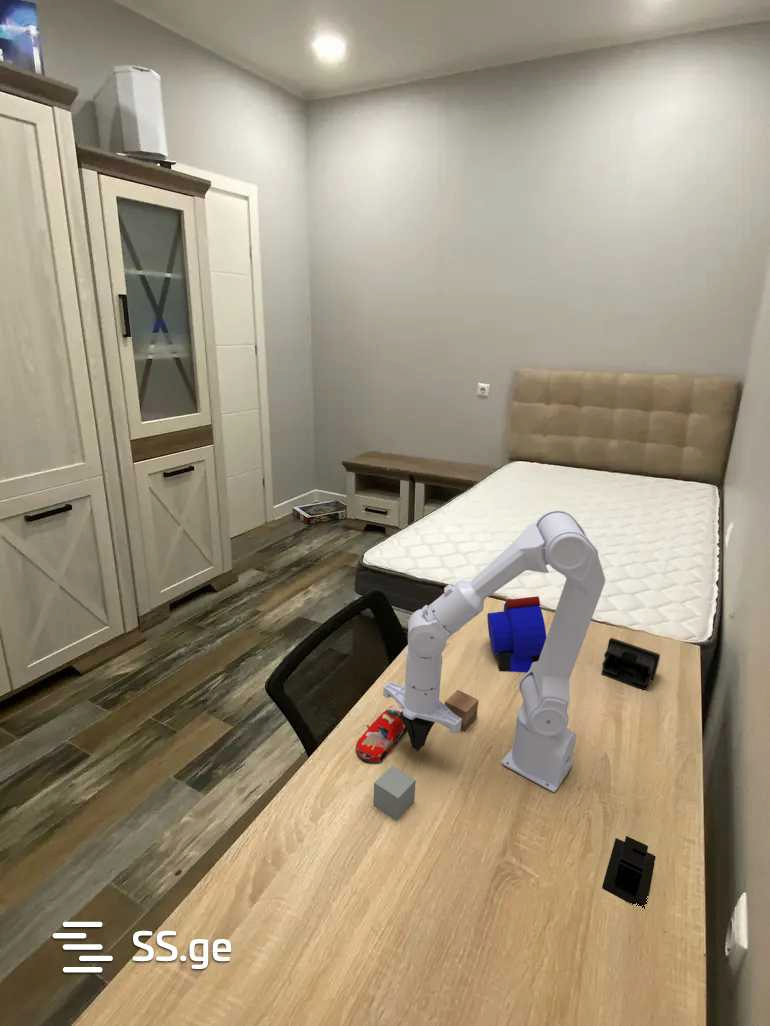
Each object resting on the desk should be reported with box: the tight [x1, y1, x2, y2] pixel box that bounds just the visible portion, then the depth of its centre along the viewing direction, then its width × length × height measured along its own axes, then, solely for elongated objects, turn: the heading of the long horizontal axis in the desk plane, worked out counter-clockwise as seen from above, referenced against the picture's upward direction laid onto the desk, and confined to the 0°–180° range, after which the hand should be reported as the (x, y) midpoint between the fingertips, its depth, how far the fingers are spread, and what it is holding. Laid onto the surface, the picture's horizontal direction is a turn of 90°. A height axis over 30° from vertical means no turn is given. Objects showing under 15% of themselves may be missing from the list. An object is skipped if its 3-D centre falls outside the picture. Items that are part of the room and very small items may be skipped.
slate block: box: [372, 765, 417, 822], centre depth 86 cm, size 4×4×4 cm
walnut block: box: [444, 689, 480, 733], centre depth 105 cm, size 4×4×4 cm
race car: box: [355, 705, 408, 763], centre depth 99 cm, size 13×5×4 cm, turn 147°
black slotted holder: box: [601, 637, 661, 692], centre depth 120 cm, size 10×7×7 cm
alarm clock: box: [487, 596, 547, 674], centre depth 123 cm, size 12×12×15 cm
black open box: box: [601, 835, 657, 909], centre depth 77 cm, size 12×7×5 cm, turn 148°
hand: (418, 746), depth 97 cm, fingers closed
